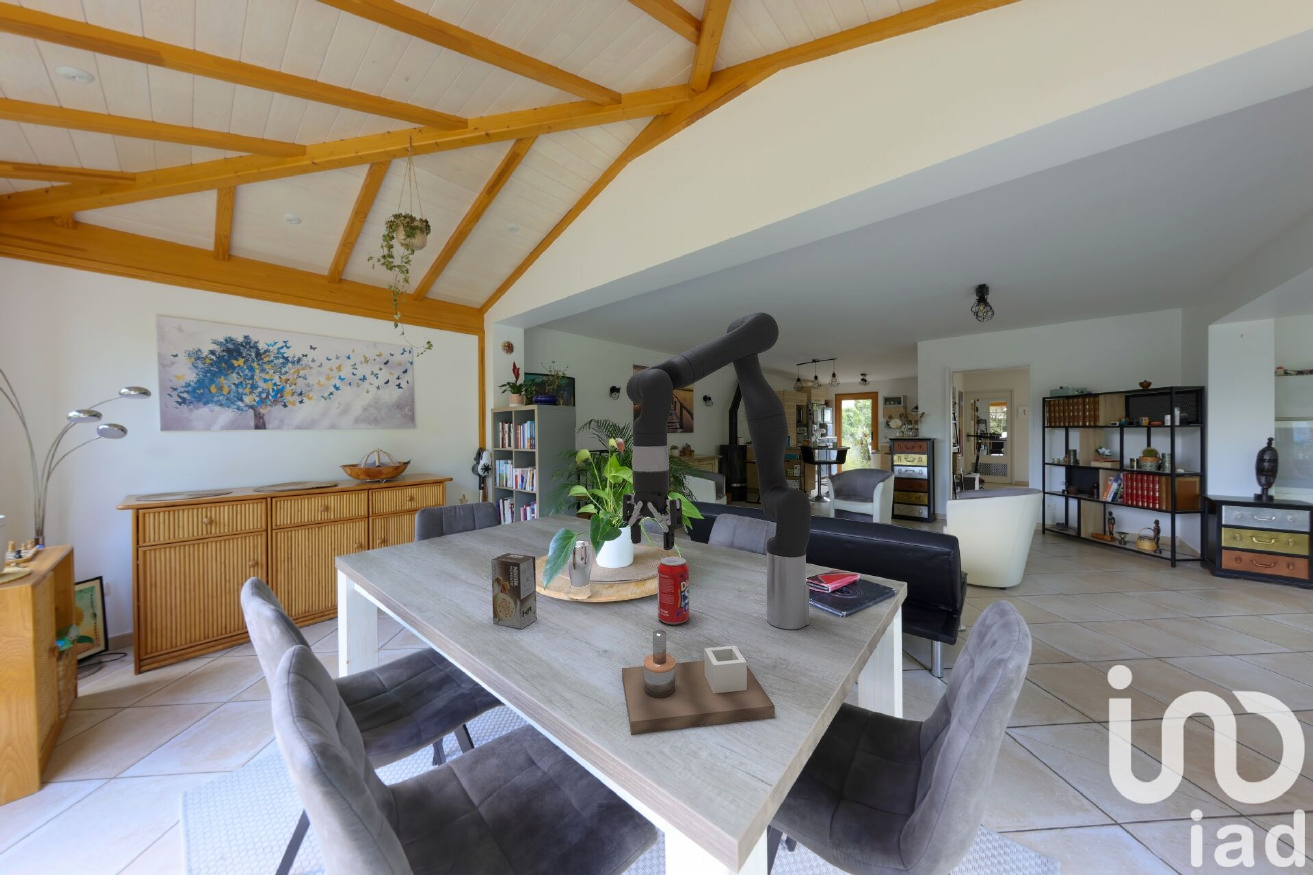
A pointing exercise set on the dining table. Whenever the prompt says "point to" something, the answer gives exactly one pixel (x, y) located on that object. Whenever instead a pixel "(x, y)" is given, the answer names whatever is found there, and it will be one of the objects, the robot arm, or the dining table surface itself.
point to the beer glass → (580, 564)
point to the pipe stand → (685, 695)
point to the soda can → (673, 590)
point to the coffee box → (514, 590)
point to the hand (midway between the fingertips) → (651, 546)
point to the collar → (725, 669)
